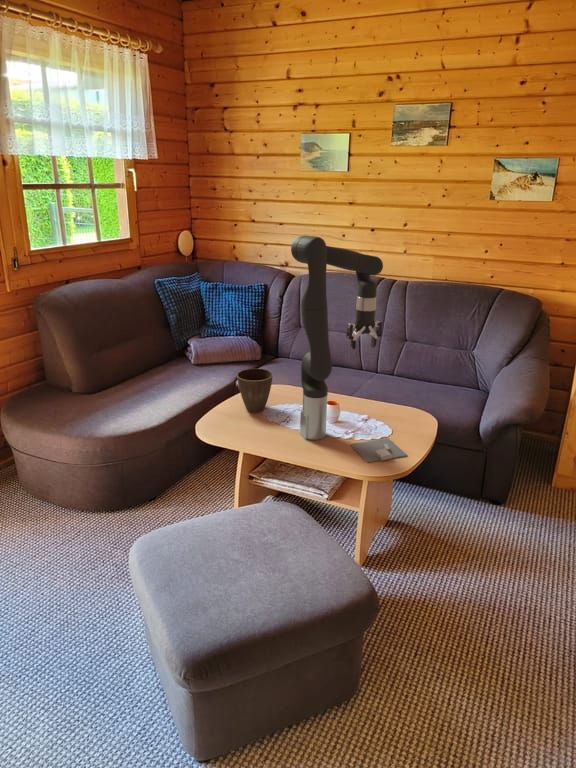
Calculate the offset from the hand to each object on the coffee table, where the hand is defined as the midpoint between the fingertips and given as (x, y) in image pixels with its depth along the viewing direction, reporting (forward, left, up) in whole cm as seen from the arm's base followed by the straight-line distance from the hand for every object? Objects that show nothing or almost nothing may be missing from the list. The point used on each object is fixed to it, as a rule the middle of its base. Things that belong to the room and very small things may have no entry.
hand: (363, 348), depth 220 cm
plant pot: (-39, +20, -30) cm, 53 cm away
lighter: (-5, -37, -29) cm, 47 cm away
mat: (-6, -29, -30) cm, 42 cm away
